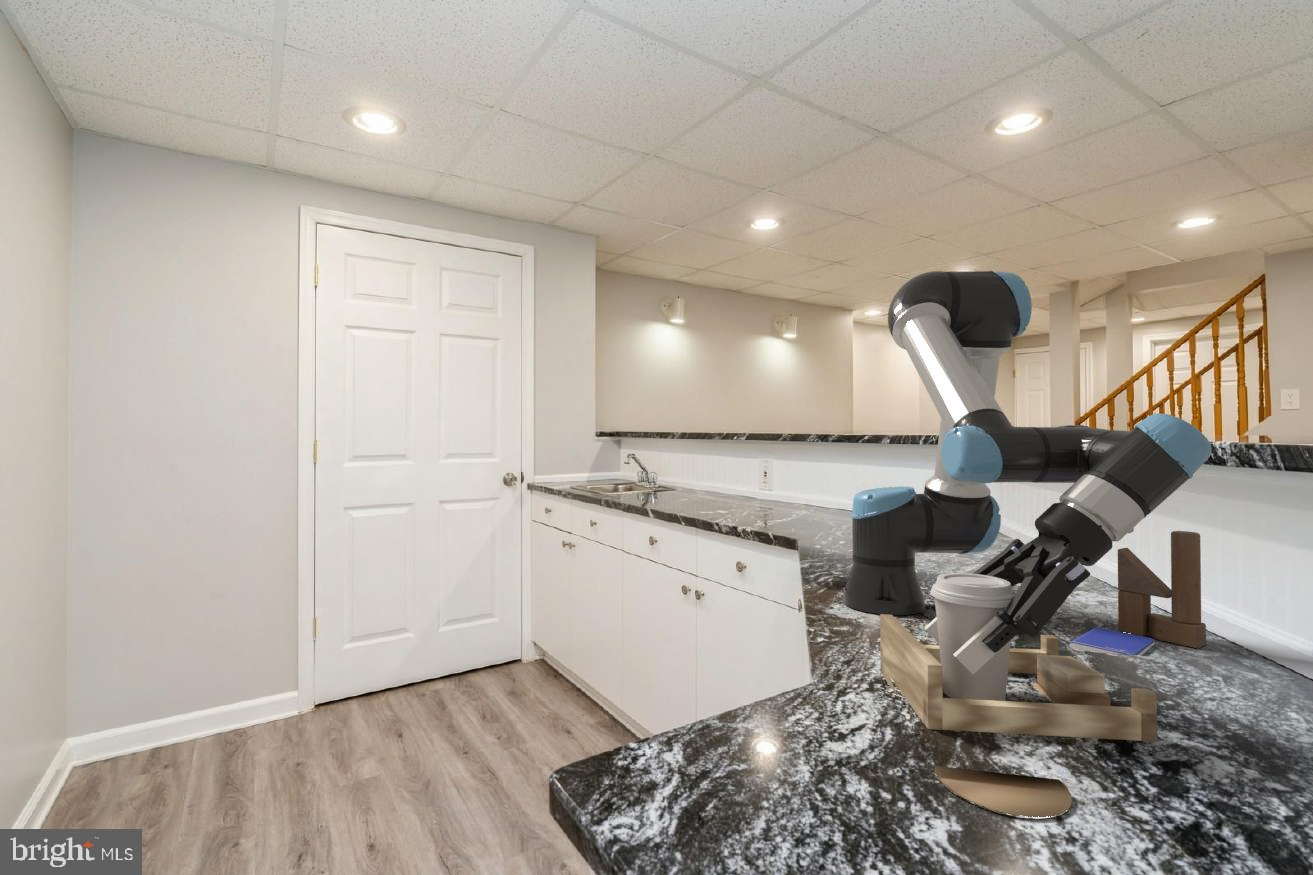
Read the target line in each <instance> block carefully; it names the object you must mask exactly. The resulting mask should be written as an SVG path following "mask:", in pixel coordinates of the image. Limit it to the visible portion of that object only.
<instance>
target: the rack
mask: <svg viewBox="0 0 1313 875" xmlns="http://www.w3.org/2000/svg"><path fill="white" fill-rule="evenodd" d="M879 615H880V618H879V620H880V623H879V626H880V627H879V629H880V631H879V632H880V635H879V636H880V638H879V639H880V640H879V642H880V646H879V647H880V653H879V654H880V663H879V665H880V670H879V671H880V672H879V673H880V674H881V675H882V677H884V678H883V679H885V681H886V682H887V683H888V685H889V687H890V688H891V689H892V691H893V692H894V694H895V695H896V697H897V698H899V695H898V693H897V691H896V688H895V686H894V684H895V685H896V687H897V688H898V690H899V691H900V692H901V694H902V695H903V697H904V698H905V699H906V701H907V702H908V703H909V705H910V706H911V707H912V709H913V710H914V712H915V713H916V714H917V716H918V717H919V719H920V720H921V722H922V723H923V724H924V726H925V727H926V728H927V729H928V730H937V731H938V730H941V731H942V730H943V731H956V732H958V731H959V732H962V731H963V732H975V733H976V732H978V733H996V734H1012V735H1014V734H1015V735H1031V736H1033V735H1034V736H1035V735H1036V736H1050V737H1053V736H1054V737H1066V738H1067V737H1070V738H1083V739H1084V738H1087V739H1088V738H1089V739H1103V740H1104V739H1105V740H1125V741H1137V742H1139V741H1140V742H1141V741H1142V742H1143V741H1144V742H1155V743H1156V742H1158V710H1157V709H1158V708H1157V707H1158V705H1157V704H1158V696H1157V694H1156V693H1154V692H1153V691H1152V690H1149V689H1148V688H1138V687H1137V688H1133V687H1132V688H1130V698H1131V699H1130V700H1131V701H1130V703H1131V704H1130V706H1095V705H1075V704H1055V703H1053V702H1051V703H1050V702H1031V701H1010V700H1009V701H1008V700H1005V701H994V700H974V699H953V698H951V697H944V696H943V693H944V691H943V680H942V665H941V658H940V648H939V645H938V644H937V645H935V644H922V643H921V642H919V641H918V640H917V638H915V636H914V635H912V633H911V632H910V631H908V630H907V628H905V627H904V625H903V624H901V623H900V622H899V620H897V619H896V617H894V615H887V614H879ZM1059 642H1060V641H1059V638H1058V637H1057V636H1055V635H1053V634H1040V649H1037V648H1035V649H1034V648H1014V647H1013V648H1011V647H1010V654H1009V664H1008V673H1010V674H1011V673H1012V674H1013V673H1015V674H1030V675H1031V674H1034V675H1035V674H1036V675H1037V655H1054V656H1060V654H1059V650H1060V649H1059V647H1060V646H1059Z"/></svg>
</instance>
